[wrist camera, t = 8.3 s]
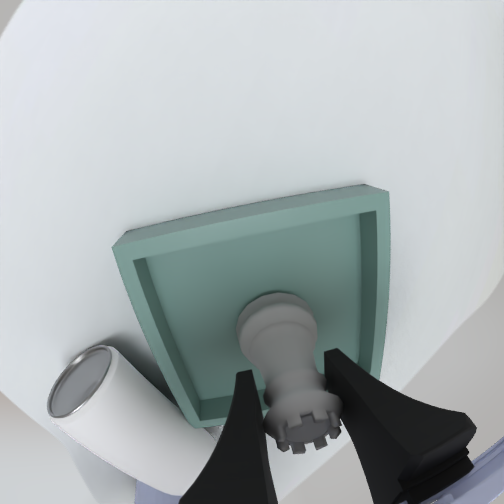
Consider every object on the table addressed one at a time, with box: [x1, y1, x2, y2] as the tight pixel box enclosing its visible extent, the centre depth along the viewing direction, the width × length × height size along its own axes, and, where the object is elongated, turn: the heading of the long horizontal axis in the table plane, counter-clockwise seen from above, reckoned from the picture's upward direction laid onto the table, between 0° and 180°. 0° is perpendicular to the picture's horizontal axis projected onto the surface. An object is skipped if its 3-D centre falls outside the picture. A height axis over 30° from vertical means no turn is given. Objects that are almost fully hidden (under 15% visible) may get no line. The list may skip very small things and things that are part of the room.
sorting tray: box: [112, 184, 390, 429], centre depth 16 cm, size 13×13×2 cm
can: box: [47, 345, 217, 496], centre depth 16 cm, size 6×6×12 cm
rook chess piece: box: [236, 293, 344, 454], centre depth 13 cm, size 4×4×8 cm
